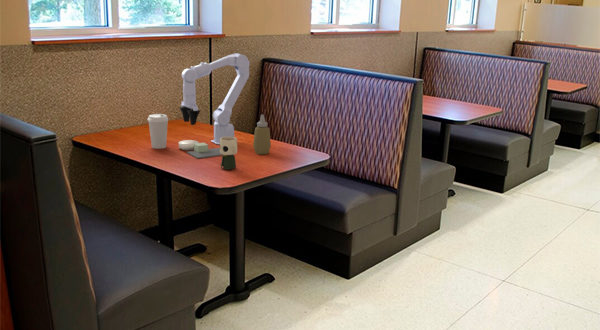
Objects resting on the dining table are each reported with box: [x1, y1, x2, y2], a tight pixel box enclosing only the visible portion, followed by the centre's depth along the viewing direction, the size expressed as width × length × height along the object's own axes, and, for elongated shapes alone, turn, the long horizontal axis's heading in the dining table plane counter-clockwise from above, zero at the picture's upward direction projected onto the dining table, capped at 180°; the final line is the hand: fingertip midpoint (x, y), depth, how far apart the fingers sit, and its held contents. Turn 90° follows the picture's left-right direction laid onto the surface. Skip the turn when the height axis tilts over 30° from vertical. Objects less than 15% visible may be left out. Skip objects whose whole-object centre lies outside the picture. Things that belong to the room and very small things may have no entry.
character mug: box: [219, 136, 238, 170], centre depth 248 cm, size 11×7×13 cm, turn 45°
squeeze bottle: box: [252, 114, 272, 155], centre depth 273 cm, size 8×8×18 cm
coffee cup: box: [147, 113, 169, 150], centre depth 278 cm, size 10×10×15 cm
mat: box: [186, 147, 223, 160], centre depth 271 cm, size 16×11×1 cm
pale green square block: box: [193, 142, 209, 152], centre depth 274 cm, size 5×5×3 cm
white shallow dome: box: [178, 139, 199, 151], centre depth 279 cm, size 9×9×3 cm
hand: (189, 123), depth 284 cm, fingers open, 7 cm apart
